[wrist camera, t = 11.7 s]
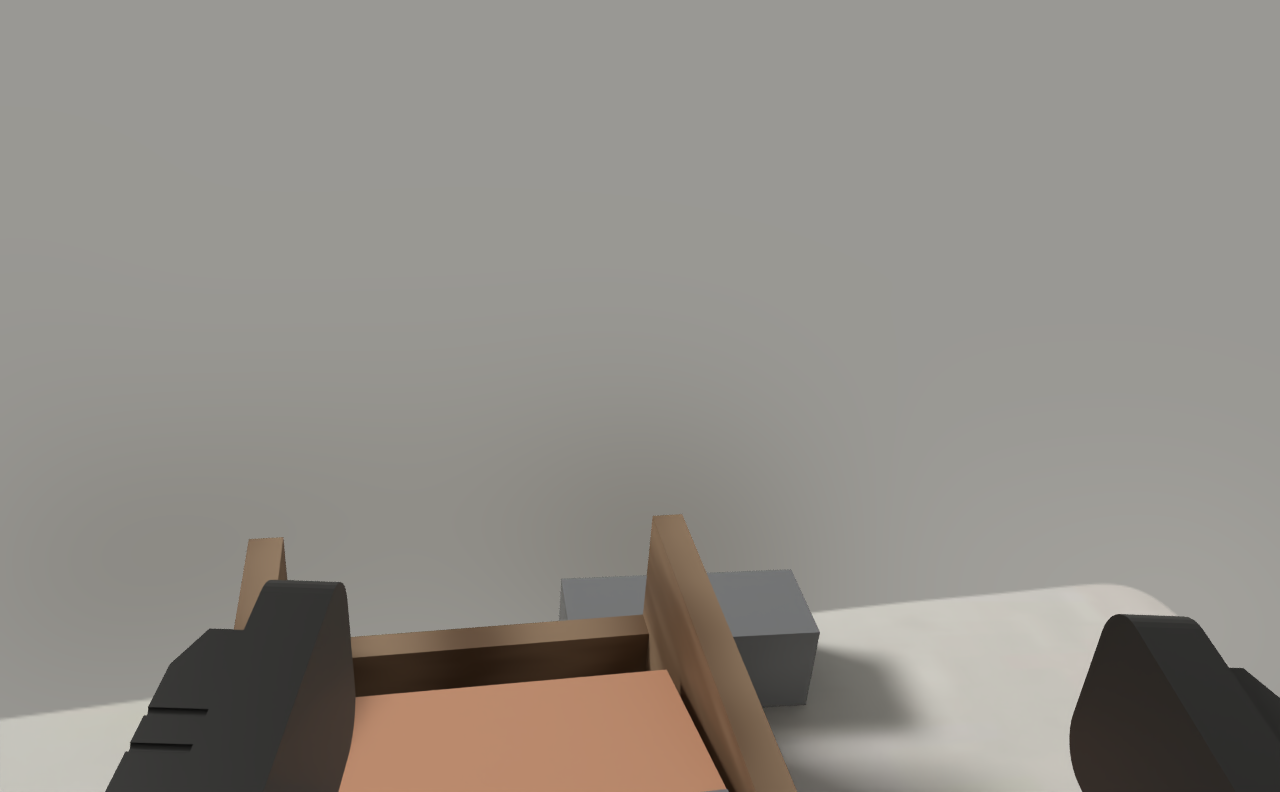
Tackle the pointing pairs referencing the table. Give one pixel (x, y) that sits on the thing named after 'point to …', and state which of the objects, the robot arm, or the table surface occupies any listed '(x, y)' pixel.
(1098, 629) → the table surface
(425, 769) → the trapdoor
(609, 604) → the basalt block
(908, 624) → the table surface
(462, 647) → the walnut frame
